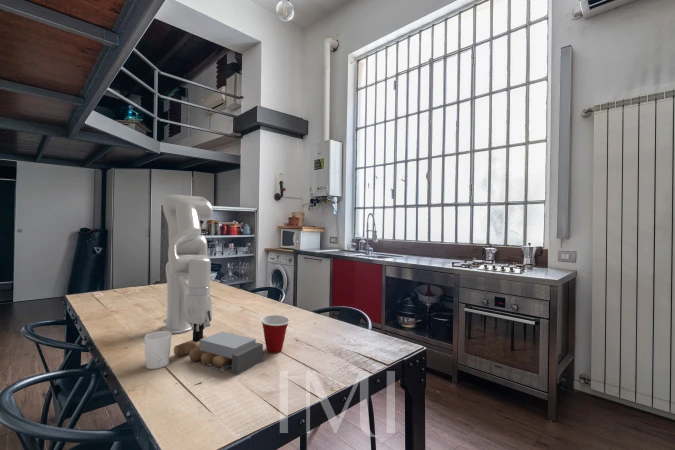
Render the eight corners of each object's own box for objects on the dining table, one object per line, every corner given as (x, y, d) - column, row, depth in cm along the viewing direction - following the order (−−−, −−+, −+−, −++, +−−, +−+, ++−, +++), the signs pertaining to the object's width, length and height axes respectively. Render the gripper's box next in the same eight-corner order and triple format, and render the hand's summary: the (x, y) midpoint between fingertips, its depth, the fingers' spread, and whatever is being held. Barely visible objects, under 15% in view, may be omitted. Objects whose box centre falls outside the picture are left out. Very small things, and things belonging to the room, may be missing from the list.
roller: (213, 354, 106) (221, 360, 104) (240, 343, 116) (247, 348, 115) (211, 364, 106) (218, 370, 105) (238, 352, 117) (245, 357, 115)
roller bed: (173, 355, 115) (173, 344, 115) (201, 345, 126) (201, 334, 126) (209, 366, 107) (209, 354, 107) (235, 354, 117) (236, 343, 118)
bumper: (231, 373, 102) (232, 354, 102) (257, 359, 113) (257, 342, 113) (237, 375, 101) (237, 356, 101) (262, 361, 112) (262, 343, 112)
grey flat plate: (209, 366, 107) (209, 363, 107) (235, 354, 118) (235, 351, 118) (222, 370, 104) (222, 367, 104) (248, 357, 115) (248, 354, 115)
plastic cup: (274, 358, 114) (274, 324, 114) (254, 351, 121) (254, 319, 121) (295, 349, 123) (295, 318, 123) (275, 342, 129) (276, 313, 130)
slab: (199, 349, 110) (199, 339, 110) (221, 340, 119) (222, 331, 119) (234, 359, 103) (234, 348, 103) (255, 349, 112) (255, 339, 112)
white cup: (151, 372, 102) (152, 340, 102) (138, 366, 106) (139, 335, 106) (175, 363, 109) (176, 333, 109) (162, 358, 113) (163, 329, 113)
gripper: (176, 290, 118) (175, 340, 118) (205, 295, 111) (203, 348, 112) (193, 287, 125) (192, 334, 125) (221, 291, 118) (220, 341, 118)
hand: (197, 340), depth 118 cm, fingers closed
